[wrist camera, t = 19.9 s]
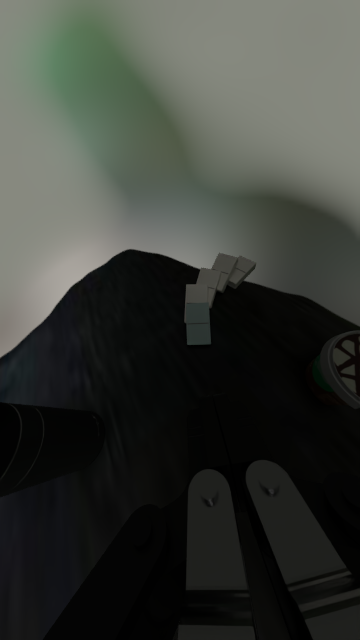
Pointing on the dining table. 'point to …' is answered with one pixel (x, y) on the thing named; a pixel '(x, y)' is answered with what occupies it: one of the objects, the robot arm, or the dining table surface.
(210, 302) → the domino
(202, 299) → the domino
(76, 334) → the dining table surface
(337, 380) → the food container
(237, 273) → the domino
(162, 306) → the dining table surface
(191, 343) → the domino
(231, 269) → the domino
